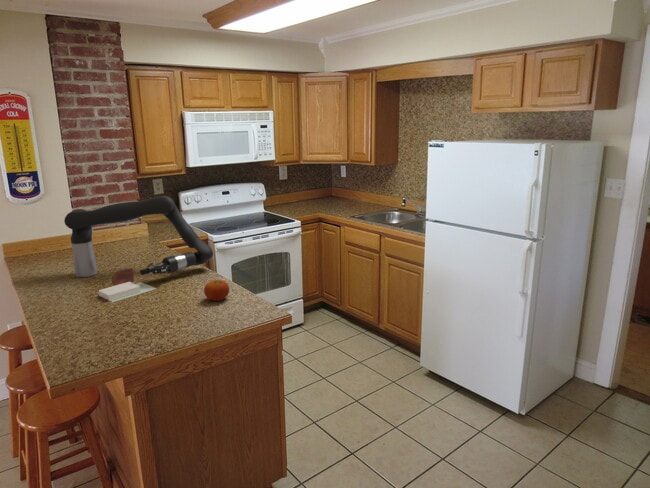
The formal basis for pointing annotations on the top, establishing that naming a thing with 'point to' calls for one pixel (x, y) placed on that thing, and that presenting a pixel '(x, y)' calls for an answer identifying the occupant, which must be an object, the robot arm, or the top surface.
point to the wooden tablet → (123, 276)
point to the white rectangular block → (119, 291)
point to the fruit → (216, 290)
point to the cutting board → (143, 289)
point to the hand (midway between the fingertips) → (140, 272)
